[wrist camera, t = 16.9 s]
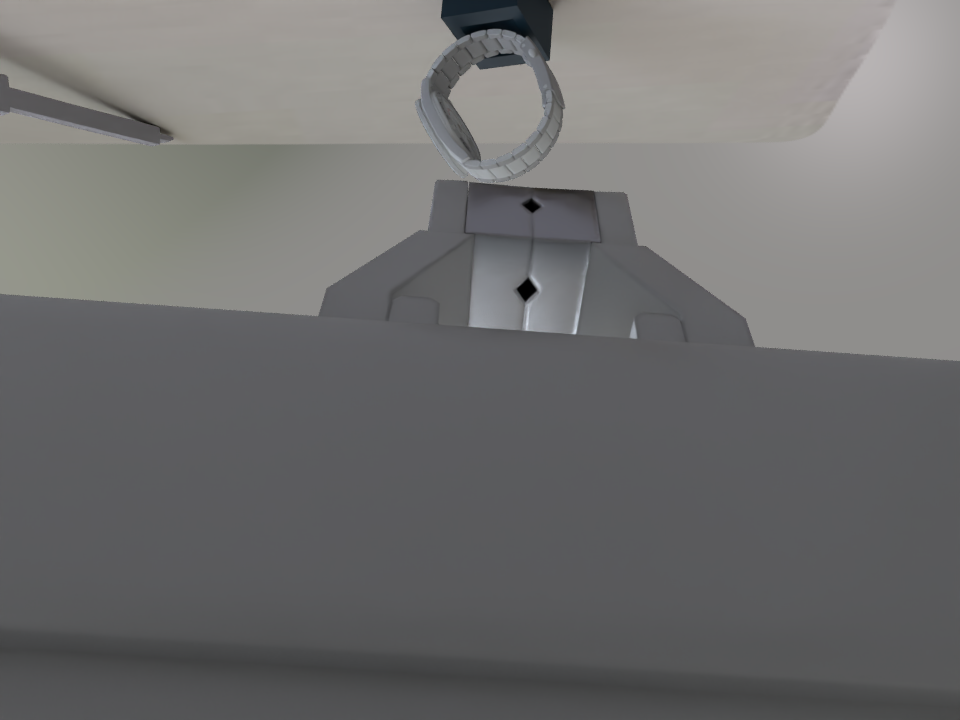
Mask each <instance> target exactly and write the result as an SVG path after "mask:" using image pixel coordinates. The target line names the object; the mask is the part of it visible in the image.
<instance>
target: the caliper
mask: <svg viewBox="0 0 960 720" xmlns="http://www.w3.org/2000/svg"><path fill="white" fill-rule="evenodd" d="M9 112H13V113H17V114H21V115H26V116H30V117H34V118H38V119H42V120H46V121H50V122H54V123H58V124H62V125H66V126H70V127H74V128H78V129H83V130H87V131H91V132H95V133H99V134H103V135H107V136H111V137H115V138H120V139H124V140H128V141H132V142H136V143H140V144H145V145H149V146H156V145H159V144H160V143H165V142H169V141H171V140H173V139H174V138H173V137H171V136H168V135H164V134H160V128H159V127H157V126H153V125H149V124H145V123H142V122H138V121H134V120H130V119H126V118H122V117H119V116H115V115H111V114H107V113H103V112H99V111H96V110H92V109H88V108H84V107H80V106H77V105H73V104H69V103H66V102H62V101H58V100H54V99H51V98H47V97H43V96H40V95H36V94H32V93H29V92H25V91H21V90H18V89H14V88H10V87H9V82H8V77H7V76H6V75H4V74H0V115H5V114H7V113H9Z"/></svg>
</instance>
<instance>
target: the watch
mask: <svg viewBox="0 0 960 720" xmlns="http://www.w3.org/2000/svg"><path fill="white" fill-rule="evenodd" d="M441 18H442V20H443V21H444V22H445V24H446V25H447V26H448V28H449V29H450V30H451V32H452V33H453V34H454V36H455V37H456V38H457V41H456V42H455V43H456V44H455V43H453V44H452V45H450V46H449V47H448V48H447V49H446V50H444V51H443V52H442V55H443V56H444V57H445V58H444V57H443V56H442V55H440V56H439V57H438V58H437V59H436V61H435V62H434V64H433V65H432V67H431V68H432V69H430V70H429V72H428V74H427V76H426V78H425V79H423V80H422V84H421V99H418V100H417V101H416V102H415V105H416V110H417V113H418V115H419V118H420V120H421V122H422V124H423V126H424V128H425V130H426V131H427V133H428V135H429V137H430V138H431V140H432V142H433V143H434V145H435V147H436V148H437V150H438V151H439V153H440V154H441V155H442V157H443V158H444V160H445V161H446V162H447V163H448V165H449V166H450V167H451V168H452V170H453V171H454V172H455V173H456V174H457V175H459V176H460V177H462V178H465V177H467V176H468V173H469V174H470V175H472V176H473V177H474V178H475V179H477V180H478V181H480V182H487V183H491V182H492V183H493V182H495V181H496V182H504V181H508V180H510V179H515V178H517V177H519V176H521V175H523V174H525V173H526V172H529V171H530V170H532V169H533V168H534V167H536V166H537V165H538V164H539V161H542V160H543V159H544V158H545V157H546V156H547V154H548V153H549V152H550V150H551V148H552V147H553V146H554V144H555V143H556V141H557V138H558V136H559V132H560V131H561V127H562V118H563V110H562V109H565V105H564V100H563V97H562V94H561V90H560V88H559V85H558V83H557V80H556V78H555V77H554V75H553V73H552V71H551V70H550V68H549V66H548V65H547V63H546V61H549V60H550V48H551V34H552V21H553V9H552V7H551V5H550V3H549V2H548V0H443V2H442V13H441ZM456 45H457V46H458V47H457V46H456ZM452 58H453V59H454V60H455V61H456V62H455V61H454V60H453V59H452ZM469 62H470V63H471V64H472V65H475V64H476V65H477V66H478V68H479V69H488V68H495V67H503V66H511V65H518V64H527V65H528V66H530V67H533V70H534V72H535V75H536V78H537V81H538V85H539V89H540V91H541V93H542V106H543V108H544V110H545V111H544V115H545V116H544V117H543V118H542V119H541V121H540V123H539V125H538V127H537V131H534V132H533V134H532V135H531V136H530V137H529V138H528V139H527V140H526V144H527V145H526V144H525V143H522V144H521V145H520V146H518V147H517V148H516V149H514V150H513V151H512V154H511V153H507V154H505V155H503V156H500V157H498V158H497V159H496V160H495V159H489V160H482V161H481V156H480V152H479V149H478V147H477V145H476V143H475V141H474V139H473V137H472V135H471V133H470V132H469V130H468V128H467V126H466V125H465V123H464V122H463V120H462V118H461V117H460V115H459V114H458V112H457V111H456V110H455V108H454V107H453V105H452V103H451V101H450V100H448V97H449V94H450V92H451V90H450V89H452V88H453V87H454V85H455V84H456V82H457V81H458V80H459V75H460V76H462V75H463V74H464V73H465V72H466V71H467V70H468V69H469V68H470V67H471V64H470V63H469ZM456 63H457V64H458V65H459V66H458V65H457V64H456ZM441 71H442V72H443V73H442V72H441ZM457 73H458V74H459V75H458V74H457ZM446 77H447V78H448V79H447V78H446ZM449 88H450V89H449ZM534 145H535V146H536V147H537V148H536V147H535V146H534ZM550 147H551V148H550ZM537 149H538V150H539V151H538V150H537ZM521 157H522V158H523V159H522V158H521ZM524 161H525V162H526V163H525V162H524ZM524 169H525V170H524Z"/></svg>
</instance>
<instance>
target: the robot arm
mask: <svg viewBox="0 0 960 720" xmlns="http://www.w3.org/2000/svg"><path fill="white" fill-rule="evenodd" d="M0 720H960V361H949V360H936V359H922V358H907V357H892V356H879V355H864V354H850V353H835V352H821V351H807V350H792V349H778V348H764V347H755V345H754V342H753V339H752V336H751V333H750V330H749V327H748V325H747V322H746V319H745V318H744V317H743V316H741V315H740V314H739V313H737V312H736V311H734V310H733V309H732V308H730V307H729V306H727V305H726V304H725V303H723V302H722V301H721V300H719V299H718V298H716V297H715V296H714V295H712V294H711V293H710V292H708V291H707V290H705V289H704V288H703V287H702V286H700V285H699V284H697V283H696V282H695V281H693V280H692V279H691V278H689V277H688V276H686V275H685V274H684V273H682V272H681V271H679V270H678V269H676V268H675V267H674V266H672V265H671V264H670V263H668V262H667V261H666V260H664V259H663V258H662V257H660V256H659V255H657V254H656V253H654V252H653V251H652V250H651V249H649V248H648V247H646V246H638V244H637V240H636V235H635V231H634V226H633V221H632V216H631V212H630V207H629V202H628V197H627V194H625V193H624V192H594V191H588V190H567V189H547V188H530V187H518V186H508V185H497V184H485V183H475V182H469V190H468V182H467V181H456V180H437V181H436V182H435V186H434V193H433V200H432V206H431V214H430V220H429V227H428V231H425V230H419V231H418V232H416V233H414V234H413V235H411V236H410V237H408V238H407V239H405V240H403V241H402V242H400V243H398V244H397V245H395V246H394V247H392V248H390V249H389V250H387V251H386V252H384V253H382V254H381V255H379V256H378V257H376V258H374V259H373V260H371V261H370V262H368V263H367V264H365V265H364V266H362V267H360V268H358V269H357V270H355V271H354V272H352V273H350V274H349V275H347V276H346V277H344V278H342V279H341V280H339V281H338V282H336V283H334V284H333V285H331V286H330V287H328V288H327V289H326V293H325V296H324V299H323V302H322V306H321V309H320V312H319V316H308V315H294V314H280V313H264V312H252V311H236V310H223V309H208V308H194V307H193V308H192V307H179V306H165V305H164V306H163V305H149V304H136V303H121V302H107V301H92V300H78V299H63V298H49V297H35V296H20V295H6V294H0Z"/></svg>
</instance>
